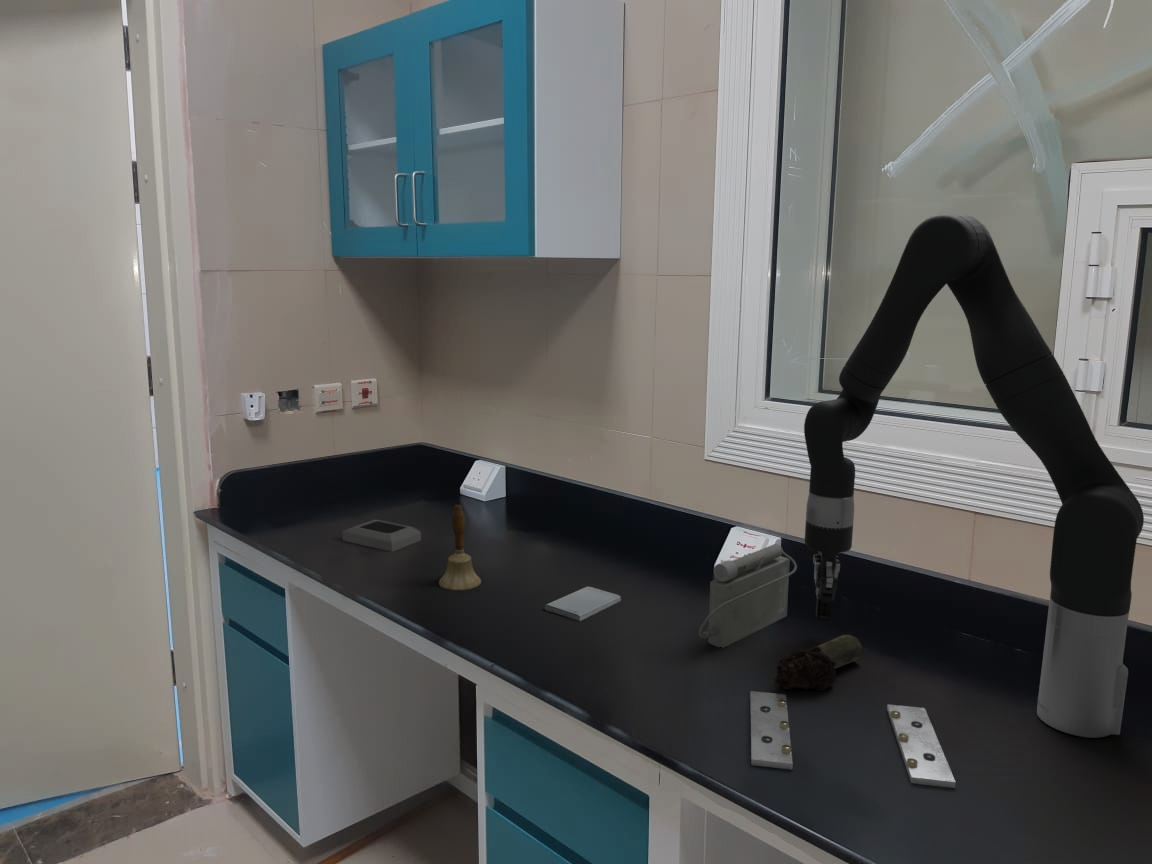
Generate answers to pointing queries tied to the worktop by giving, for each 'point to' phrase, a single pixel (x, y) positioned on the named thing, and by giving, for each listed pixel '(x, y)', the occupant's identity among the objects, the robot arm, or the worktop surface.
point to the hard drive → (583, 603)
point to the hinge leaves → (907, 723)
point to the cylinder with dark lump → (818, 664)
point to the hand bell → (459, 559)
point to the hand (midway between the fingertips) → (822, 618)
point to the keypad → (382, 535)
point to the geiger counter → (747, 595)
